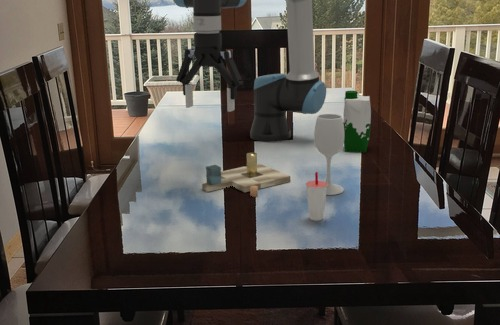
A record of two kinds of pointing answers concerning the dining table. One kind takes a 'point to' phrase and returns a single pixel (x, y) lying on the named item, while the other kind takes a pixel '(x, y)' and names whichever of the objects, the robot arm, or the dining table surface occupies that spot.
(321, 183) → the cup
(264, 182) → the light wooden flat board
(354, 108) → the milk carton
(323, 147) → the wineglass
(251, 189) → the dowel
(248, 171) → the post
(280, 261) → the dining table surface
